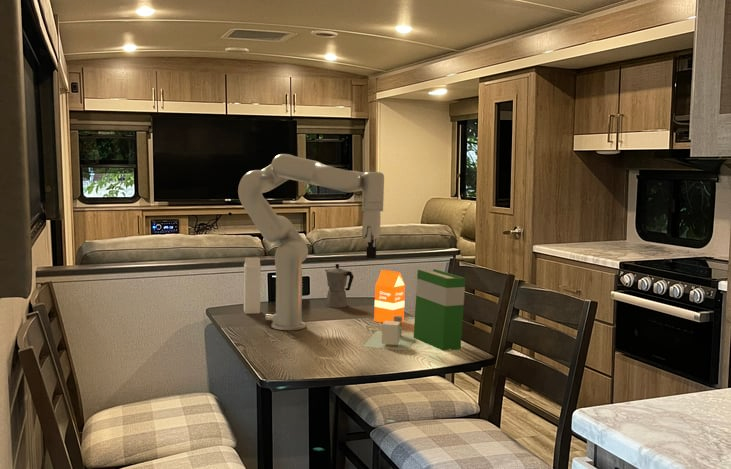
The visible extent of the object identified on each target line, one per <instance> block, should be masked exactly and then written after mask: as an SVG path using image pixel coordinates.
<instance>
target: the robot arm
mask: <svg viewBox="0 0 731 469" xmlns="http://www.w3.org/2000/svg"><path fill="white" fill-rule="evenodd" d="M289 180H290V181H291V180H292V181H296V182H301V183H304V184H305V183H306V184H308V185H313V186H318V187H323V188H326V189H327V188H328V189H330V190H336V191H340V192H344V193H355V192H362V199H361V201H362V202H361V204H362V205H361V207H362V208H361V211H362V212H363V214H362V215H363V216H362V224H361V225H362V228H361V238H362V240H365V239H366V256H365V257H366V259H376V258H377V240H378V239H377V238H379V237H380V235H381V212H384V200H385V199H384V196H385V192H384V190H385V175H384V173H383V172H380V171H379V172H378V171H367V172H366V171H363V172H362V171H358V170H349V169H342V168H337V167H333V166H329V165H327V164H324V163H322V162H320V161H317V160H313V159H309V158H304V157H299V156H296V155H293V154H289V153H280V154H277V155H276V156H274V158H272V161H271V163H270V164H269V165H268V166H266V167H264V168H262V169H254V170H249V171H248V172H246V173H245V174H244V175H243V176H242V177H241V179H240V181H239V184H238V189H237V193H238V198H239V201H240V204H241V205H242V208H244V210H245V211H246V213H247V215H248V216H249V217H250V219H251V221H252V222H253V224H254V226H256V228H257V229H258V231H259V233H260V234H261V236H262V237H263V239H264V240H265V241H266V242H269V243H273V244H274V243H275V244H276V246H277V249H276V250H275V253H274V265H275V267H274V268H275V313H274V314H271V313H266V314H265V315H264V318H265V320H266V321H271V329H272V328H273V329H275V330H278V331H279V330H280V331H298V330H303V329H305V328H306V326H307V325H306V324H307V323H305V322H304V321H303V320H302V319H303V318H302V317H303V316H302V312H303V311H302V310H303V309H302V308H303V304H302V302H303V270H302V268H303V267H302V263H303V262H304V261H305V260H307V258H308V255H309V248H308V245H307V244H306V242H305V241H304V239H303V237H302V235H300V233H299V231H298V230H297V229H296V227H295V226H294V224H293V222H292V221H291V220H290V219H288V218H287V217H286V216H283V215H280V214H279V215H278V214H277V213H276V212H275V211H274V209H273V207H272V205H270V203H269V202H268V200H266V198H265V197H264V195H263V194H264V193H267V192H270V191H272V190H274V189H276V188H277V187H279V186H280V185H281V186H282V184H284V183H285V182H287V181H289Z"/></svg>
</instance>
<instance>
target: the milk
mask: <svg viewBox="0 0 731 469" xmlns="http://www.w3.org/2000/svg"><path fill="white" fill-rule="evenodd" d="M261 268H262V266H261V258H260V257H245V258H244V264H243V312H244V314H260V313H261V278H262V277H261V272H262V270H261Z"/></svg>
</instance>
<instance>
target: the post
mask: <svg viewBox="0 0 731 469" xmlns="http://www.w3.org/2000/svg"><path fill="white" fill-rule="evenodd" d="M394 321H396V322H400V337H401V335H402V333H403V332H402V330H403V328H402V327H403V323H402V316H396V315H395V316H394Z"/></svg>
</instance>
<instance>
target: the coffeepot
mask: <svg viewBox="0 0 731 469" xmlns="http://www.w3.org/2000/svg"><path fill="white" fill-rule="evenodd" d="M325 273H326V279H327V280H326V281H327V282H326V283H327V287H328V292H327V296H326V300H325V306H326V307H328V308H332V309H333V308H334V309H337V308H338V309H339V308H340V309H342V308H346V307H347V306H348V300H347V299H348V298H347V293H346V291H350V290H351V286H352V284H353V280H354V275H353V272H352V271H349V270H346V269H342V268H340V263H336V264H335V268H331V269H330V268H329V269H325ZM348 278H349V279H348ZM347 280H348V283H347ZM346 286H347V287H346Z"/></svg>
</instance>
